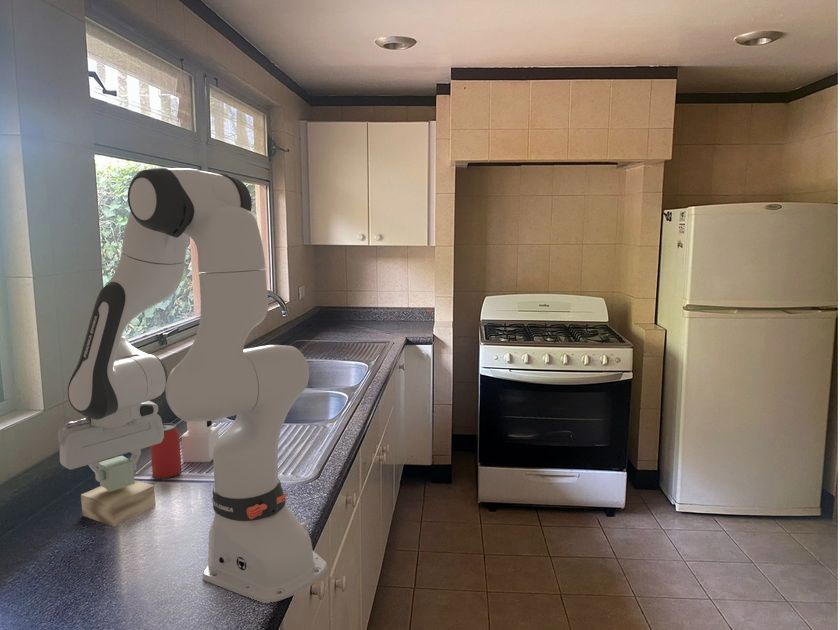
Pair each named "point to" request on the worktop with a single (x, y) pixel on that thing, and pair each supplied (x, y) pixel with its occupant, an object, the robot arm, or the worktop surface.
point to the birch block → (118, 503)
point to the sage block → (117, 473)
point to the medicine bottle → (199, 441)
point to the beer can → (167, 454)
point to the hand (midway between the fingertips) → (116, 474)
